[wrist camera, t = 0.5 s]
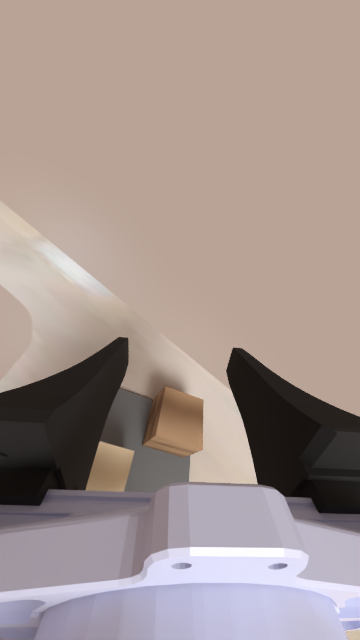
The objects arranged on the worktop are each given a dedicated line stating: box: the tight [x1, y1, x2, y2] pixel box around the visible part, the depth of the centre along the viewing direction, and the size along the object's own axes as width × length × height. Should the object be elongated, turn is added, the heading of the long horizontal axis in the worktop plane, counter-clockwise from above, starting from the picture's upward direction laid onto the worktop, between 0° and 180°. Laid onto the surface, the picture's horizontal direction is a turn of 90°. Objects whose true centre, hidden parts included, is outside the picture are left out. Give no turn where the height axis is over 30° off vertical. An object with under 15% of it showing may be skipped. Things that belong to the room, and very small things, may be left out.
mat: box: [100, 388, 190, 493], centre depth 22 cm, size 14×14×1 cm
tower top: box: [148, 386, 203, 454], centre depth 23 cm, size 6×6×2 cm
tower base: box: [142, 394, 191, 458], centre depth 24 cm, size 6×6×2 cm
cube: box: [86, 441, 135, 492], centre depth 17 cm, size 4×4×4 cm
